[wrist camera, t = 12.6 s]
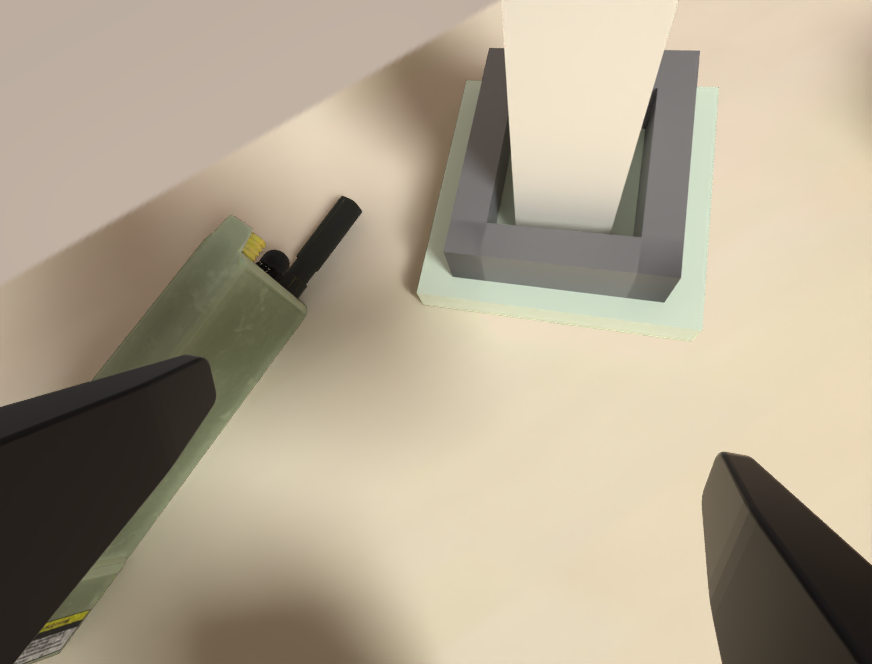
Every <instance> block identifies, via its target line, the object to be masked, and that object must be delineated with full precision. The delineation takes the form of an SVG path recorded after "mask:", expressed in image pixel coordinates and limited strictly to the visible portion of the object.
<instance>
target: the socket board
mask: <svg viewBox="0 0 872 664" xmlns="http://www.w3.org/2000/svg"><path fill="white" fill-rule="evenodd" d="M699 55H700V51H681V50H664V52H663V56H662V59H661V63H660V66H659V69H658V73H657V76H656V80H655V83H654V86H653V90H652V93H651V97H650V100H649V104H648V107H647V110H646V114H645V117H644V121H643V124H642V127H641V131H640V134H639V138H638V141H637V144H636V148H635V151H634V155H633V158H632V161H631V165H630V168H629V172H628V175H627V178H626V182H625V185H624V189H623V192H622V195H621V199H620V202H619V206H618V209H617V213H616V216H615V219H614V223H613V226H612V230H611V233H610V234H600V233H589V232H579V231H568V230H558V229H547V228H537V227H526V226H516V221H515V205H514V190H513V175H512V159H511V144H510V129H509V113H508V98H507V82H506V67H505V52H504V48H489V51H488V56H487V60H486V65H485V69H484V74H483V78H482V81H472V80H466V84H465V88H464V93H463V97H462V101H461V106H460V110H459V114H458V118H457V123H456V127H455V131H454V135H453V140H452V144H451V148H450V152H449V157H448V161H447V165H446V169H445V174H444V178H443V182H442V186H441V191H440V195H439V199H438V203H437V208H436V212H435V216H434V221H433V225H432V229H431V233H430V238H429V242H428V246H427V250H426V255H425V259H424V263H423V267H422V272H421V276H420V280H419V284H418V289H417V295H418V296H419V298H420V300H421V302H422V303H423V305H429V306H437V307H444V308H451V309H458V310H466V311H473V312H480V313H488V314H495V315H502V316H509V317H517V318H524V319H531V320H538V321H546V322H553V323H560V324H568V325H575V326H582V327H589V328H597V329H604V330H611V331H619V332H626V333H633V334H640V335H648V336H655V337H662V338H670V339H677V340H684V341H692V340H693V339H694V338H695V337H696V336H697V335H698V334H699V333H700V332H702V328H703V313H704V299H705V284H706V269H707V255H708V240H709V225H710V211H711V196H712V181H713V167H714V152H715V137H716V122H717V108H718V93H719V87H697V79H698V67H699Z"/></svg>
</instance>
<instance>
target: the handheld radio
mask: <svg viewBox="0 0 872 664" xmlns="http://www.w3.org/2000/svg"><path fill="white" fill-rule="evenodd" d="M361 213H362V211H361V209H360V208H359V206H358V205H357V204H356V203H355V202H354V201H353V200H351V199H349V198H347V197H344V196H341V198H340V199H339V200H338V202H337V203H336V204H335V206H334V207H333V208H332V210H331V211H330V212H329V214H328V215H327V216H326V217H325V219H324V220H323V221H322V223H321V224H320V225H319V227H318V228H317V229H316V231H315V232H314V233H313V235H312V236H311V237H310V239H309V240H308V241H307V243H306V244H305V245H304V247H303V248H302V249H301V251H300V252H299V253H298V255H297V256H296V257H297V259H296V261H295V262H294V263H293V264H292V266H291V267H290V268H289V260H288V257H287V256H286V255H285V254H284V253H283V252H281V251H278V250H270V251H268V252H266V253H265V254H264V255H263V257H262V258H261V259H260V261H261V262H260V261H259V262H258V263H256V264H255V263H254V262H253V261H255V260H256V259H255V257H256V256H257V257H258V256H259V254H258V253H259V252H262V248H265V247H266V246H265V244H266V243H265V242H264V241H263V240H262V239H261V238H260V237H258V236H257V235H255V234H254V233H252V228H251V227H250V226H248V225H247V224H245V223H244V222H242V221H241V220H239V219H238V218H236V217H235V216H233V215H230V216H229V217H228V218H227V219H226V220H225V221H224V222H223V223H222V224H221V225H220V226H219V227H218V228H217V229H216V230H215V232H214V233H212V234H210V235H209V236H208V237H207V238H206V239H205V240H204V241H203V242H202V243H201V244H200V246H199V247H198V248H197V249H196V251H195V252H194V253H193V254H192V256H191V257H190V258H189V259H188V261H187V262H186V263H185V265H184V266H183V267H182V268H181V270H180V271H179V272H178V273H177V275H176V276H175V277H174V278H173V280H172V281H171V282H170V283H169V285H168V286H167V287H166V288H165V290H164V291H163V292H162V293H161V295H160V296H159V297H158V298H157V300H156V301H155V302H154V303H153V305H152V306H151V307H150V308H149V310H148V311H147V312H146V313H145V315H144V316H143V317H142V318H141V320H140V321H139V322H138V323H137V325H136V326H135V327H134V328H133V330H132V331H131V332H130V333H129V335H128V336H127V337H126V338H125V340H124V341H123V342H122V344H121V345H120V346H119V347H118V349H117V350H116V351H115V352H114V354H113V355H112V356H111V357H110V359H109V360H108V361H107V362H106V364H105V365H104V366H103V367H102V369H101V370H100V371H99V372H98V374H97V375H96V376H95V377H94V379H93V380H92V381H94V380H97V379H101V378H104V377H108V376H111V375H115V374H118V373H122V372H125V371H129V370H132V369H136V368H139V367H143V366H146V365H150V364H153V363H157V362H160V361H164V360H167V359H171V358H174V357H178V356H181V355H187V354H188V355H195V356H200V357H204V358H206V359H207V360H208V361H209V363H210V366H211V370H212V374H213V379H214V383H215V387H216V392H217V398H216V402H215V404H214V406H213V408H212V409H211V411H210V412H209V414H208V415H207V417H206V418H205V420H204V421H203V423H202V424H201V426H200V427H199V429H198V430H197V432H196V433H195V435H194V436H193V438H192V439H191V441H190V442H189V444H188V445H187V447H186V448H185V450H184V451H183V453H182V454H181V456H180V457H179V459H178V460H177V462H176V463H175V464H174V466H173V467H172V469H171V470H170V471H169V473H168V474H167V475H166V476H165V478H164V479H163V480H162V482H161V483H160V484H159V485H158V486H157V488H156V489H155V490H154V491H153V493H152V494H151V495H150V496H149V498H148V499H147V500H146V501H145V503H144V504H143V505H142V506H141V507H140V509H139V510H138V511H137V512H136V514H135V515H134V516H133V517H132V519H131V520H130V521H129V522H128V523H127V525H126V526H125V527H124V528H123V530H122V531H121V532H120V533H119V535H118V536H117V537H116V538H115V540H114V541H113V542H112V543H111V544H110V546H109V547H108V548H107V549H106V551H105V552H104V553H103V554H102V556H101V557H100V558H99V559H98V560H97V562H96V563H95V564H94V565H93V567H92V568H91V569H90V570H89V572H88V573H87V574H86V575H85V577H84V578H83V579H82V580H81V581H80V583H79V584H78V585H77V586H76V588H75V589H74V590H73V591H72V593H71V594H70V595H69V596H68V597H67V599H66V600H65V601H64V602H63V604H62V605H61V606H60V607H59V609H58V610H57V611H56V612H55V613H54V615H53V616H52V617H51V618H50V620H49V621H48V622H47V623H46V625H45V626H44V627H43V628H42V630H41V631H40V632H39V633H38V634H37V636H36V637H35V638H34V639H33V641H32V642H31V643H30V644H29V646H28V647H27V648H26V649H25V650H24V652H23V653H22V654H21V655H20V657H19V658H18V659H17V660H16V662H15V663H14V664H32V663H35V662H38V661H40V660H43V659H46V658H48V657H51V656H54V655H56V654H59V653H60V652H61V650H62V649H63V648H64V646H65V645H66V644H67V642H68V641H69V640H70V638H71V637H72V635H73V634H74V633H75V631H76V630H77V629H78V627H79V626H80V625H81V623H82V622H83V621H84V619H85V618H86V616H87V615H88V614H89V612H90V611H91V610H92V608H93V607H94V606H95V604H96V603H97V601H98V600H99V599H100V597H101V596H102V595H103V593H104V592H105V591H106V589H107V588H108V586H109V585H110V584H111V582H112V581H113V580H114V578H115V577H116V576H117V574H118V573H119V571H120V570H121V569H122V567H123V566H124V564H125V563H126V560H127V559H128V557H129V556H130V555H131V553H132V552H133V551H134V549H135V548H136V547H137V545H138V544H139V542H140V541H141V540H142V538H143V537H144V536H145V534H146V533H147V532H148V530H149V529H150V528H151V526H152V525H153V523H154V522H155V521H156V519H157V518H158V517H159V515H160V514H161V513H162V511H163V510H164V508H165V507H166V506H167V504H168V503H169V502H170V500H171V499H172V498H173V496H174V495H175V493H176V492H177V491H178V489H179V488H180V487H181V485H182V484H183V483H184V481H185V480H186V478H187V477H188V476H189V474H190V473H191V472H192V470H193V469H194V468H195V466H196V465H197V463H198V462H199V461H200V459H201V458H202V457H203V455H204V454H205V453H206V451H207V450H208V449H209V447H210V446H211V444H212V443H213V442H214V440H215V439H216V438H217V436H218V435H219V434H220V432H221V431H222V429H223V428H224V427H225V425H226V424H227V423H228V421H229V420H230V419H231V417H232V416H233V414H234V413H235V412H236V410H237V409H238V408H239V406H240V405H241V404H242V402H243V401H244V399H245V398H246V397H247V395H248V394H249V393H250V391H251V390H252V389H253V387H254V386H255V384H256V383H257V382H258V380H259V379H260V378H261V376H262V375H263V374H264V372H265V371H266V370H267V368H268V367H269V365H270V364H271V363H272V361H273V360H274V359H275V357H276V356H277V355H278V353H279V352H280V350H281V349H282V348H283V346H284V345H285V344H286V342H287V341H288V340H289V338H290V337H291V335H292V334H293V333H294V331H295V330H296V329H297V327H298V326H299V325H300V323H301V322H302V320H303V319H304V317H305V316H306V313H307V307H306V306H305V305H304V304H303V303H302V302H300V301H299V300H298V298H299V297H300V295H301V294H302V292H303V291H304V290H305V288H306V287H307V285H306V284H307V283H308V281H309V280H310V279H311V277H312V276H313V275H314V273H315V272H316V271H318V270H319V269H320V268H321V266H322V265H323V264H324V262H325V261H326V260H327V258H328V257H329V256H330V254H331V253H332V252H333V250H334V249H335V248H336V246H337V245H338V244H339V242H340V241H341V240H342V238H343V237H344V236H345V234H346V233H347V232H348V230H349V229H350V228H351V226H352V225H353V224H354V222H355V221H356V220H357V218H358V217H359V216H360V214H361ZM261 263H263V264H261ZM260 264H261V265H260ZM259 265H260V266H259ZM265 266H267V267H265ZM268 268H269V269H271V270H268ZM288 269H289V270H288ZM287 270H288V271H287ZM266 271H268V272H266Z"/></svg>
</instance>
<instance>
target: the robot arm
mask: <svg viewBox="0 0 872 664" xmlns="http://www.w3.org/2000/svg"><path fill="white" fill-rule="evenodd" d="M216 398H217V392H216V387H215V383H214V379H213V374H212V370H211V366H210V363H209V361H208V360H207V359H206V358H204V357H200V356H195V355H188V354H187V355H181V356H178V357H174V358H171V359H167V360H164V361H160V362H157V363H153V364H150V365H146V366H143V367H139V368H136V369H132V370H129V371H125V372H122V373H118V374H115V375H111V376H108V377H104V378H101V379H97V380H94V381H90V382H87V383H83V384H80V385H76V386H73V387H69V388H66V389H62V390H59V391H55V392H52V393H48V394H45V395H41V396H38V397H34V398H31V399H27V400H24V401H20V402H17V403H13V404H10V405H6V406H3V407H0V664H14V663H15V662H16V660H17V659H18V658H19V657H20V655H21V654H22V653H23V652H24V650H25V649H26V648H27V647H28V646H29V644H30V643H31V642H32V641H33V639H34V638H35V637H36V636H37V634H38V633H39V632H40V631H41V630H42V628H43V627H44V626H45V625H46V623H47V622H48V621H49V620H50V618H51V617H52V616H53V615H54V613H55V612H56V611H57V610H58V609H59V607H60V606H61V605H62V604H63V602H64V601H65V600H66V599H67V597H68V596H69V595H70V594H71V593H72V591H73V590H74V589H75V588H76V586H77V585H78V584H79V583H80V581H81V580H82V579H83V578H84V577H85V575H86V574H87V573H88V572H89V570H90V569H91V568H92V567H93V565H94V564H95V563H96V562H97V560H98V559H99V558H100V557H101V556H102V554H103V553H104V552H105V551H106V549H107V548H108V547H109V546H110V544H111V543H112V542H113V541H114V540H115V538H116V537H117V536H118V535H119V533H120V532H121V531H122V530H123V528H124V527H125V526H126V525H127V523H128V522H129V521H130V520H131V519H132V517H133V516H134V515H135V514H136V512H137V511H138V510H139V509H140V507H141V506H142V505H143V504H144V503H145V501H146V500H147V499H148V498H149V496H150V495H151V494H152V493H153V491H154V490H155V489H156V488H157V486H158V485H159V484H160V483H161V482H162V480H163V479H164V478H165V476H166V475H167V474H168V473H169V471H170V470H171V469H172V467H173V466H174V464H175V463H176V462H177V460H178V459H179V457H180V456H181V454H182V453H183V451H184V450H185V448H186V447H187V445H188V444H189V442H190V441H191V439H192V438H193V436H194V435H195V433H196V432H197V430H198V429H199V427H200V426H201V424H202V423H203V421H204V420H205V418H206V417H207V415H208V414H209V412H210V411H211V409H212V408H213V406H214V404H215V402H216ZM702 515H703V527H704V540H705V552H706V564H707V576H708V588H709V597H710V605H711V610H712V616H713V621H714V626H715V631H716V636H717V641H718V646H719V651H720V656H721V660H722V664H872V565H871V564H870V563H869V562H868V561H867V560H866V559H864V558H863V557H862V556H861V555H860V554H859V553H858V552H857V551H855V550H854V549H853V548H852V547H851V546H850V545H849V544H848V543H847V542H845V541H844V540H843V539H842V538H841V537H840V536H839V535H838V534H837V533H835V532H834V531H833V530H832V529H831V528H830V527H829V526H828V525H826V524H825V523H824V522H823V521H822V520H821V519H820V518H819V517H818V516H816V515H815V514H814V513H813V512H812V511H811V510H810V509H809V508H808V507H806V506H805V505H804V504H803V503H802V502H801V501H800V500H799V499H797V498H796V497H795V496H794V495H793V494H792V493H791V492H790V491H789V490H787V489H786V488H785V487H784V486H783V485H782V484H781V483H780V482H779V481H777V480H776V479H775V478H774V477H773V476H772V475H771V474H770V473H768V472H767V471H766V470H765V469H764V468H763V467H762V466H761V465H760V464H758V463H757V462H756V461H755V460H754V459H753V458H751V457H749V456H746V455H740V454H735V453H729V452H721V453H719V454H718V455H717V457H716V458H715V461H714V463H713V466H712V469H711V471H710V474H709V477H708V480H707V482H706V485H705V488H704V491H703V495H702Z"/></svg>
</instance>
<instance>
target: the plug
mask: <svg viewBox="0 0 872 664" xmlns="http://www.w3.org/2000/svg"><path fill="white" fill-rule="evenodd" d="M678 1H679V0H501V5H502V21H503V36H504V52H505V67H506V82H507V98H508V113H509V129H510V144H511V159H512V175H513V190H514V205H515V221H516V226H526V227H537V228H547V229H558V230H568V231H579V232H589V233H600V234H610V233H611V230H612V226H613V223H614V219H615V216H616V213H617V209H618V206H619V202H620V199H621V195H622V192H623V189H624V185H625V182H626V178H627V175H628V172H629V168H630V165H631V161H632V158H633V155H634V151H635V148H636V144H637V141H638V138H639V134H640V131H641V127H642V124H643V121H644V117H645V114H646V110H647V107H648V104H649V100H650V97H651V93H652V90H653V86H654V83H655V80H656V76H657V73H658V69H659V66H660V63H661V59H662V56H663V52H664V49H665V46H666V42H667V39H668V35H669V32H670V29H671V25H672V22H673V18H674V15H675V12H676V8H677V5H678Z"/></svg>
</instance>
